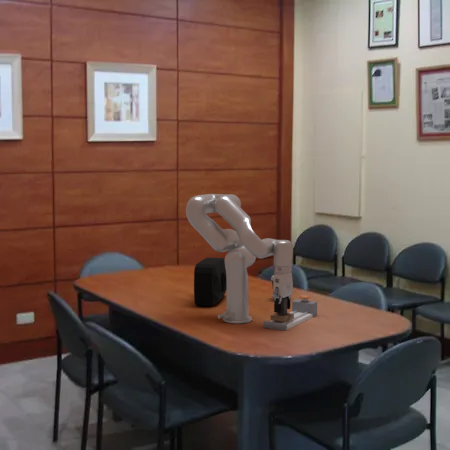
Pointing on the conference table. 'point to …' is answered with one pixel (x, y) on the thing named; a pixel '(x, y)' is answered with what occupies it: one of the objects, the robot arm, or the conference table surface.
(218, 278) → the black hard case
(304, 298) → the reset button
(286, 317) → the carriage
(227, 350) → the conference table surface
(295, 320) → the rail track
